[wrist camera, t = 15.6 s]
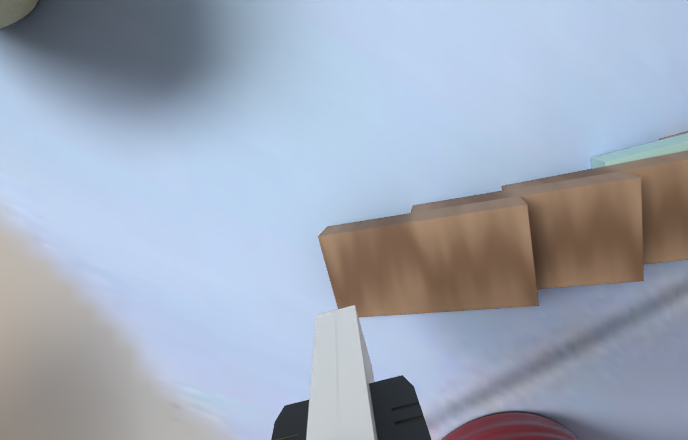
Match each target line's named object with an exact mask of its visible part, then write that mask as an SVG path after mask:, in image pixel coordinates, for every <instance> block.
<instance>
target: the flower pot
mask: <svg viewBox="0 0 688 440" xmlns="http://www.w3.org/2000/svg"><path fill="white" fill-rule="evenodd" d="M38 1H39V0H0V29H1V28H3V27H6V26H9V25H11V24H13V23H15V22H17V21H19V20H20V19H22V18H24V17H25V16H26V15H28V14H29V13H30V12H31V11H32V10H33V9H34V7H35V6H36V4H37V3H38Z"/></svg>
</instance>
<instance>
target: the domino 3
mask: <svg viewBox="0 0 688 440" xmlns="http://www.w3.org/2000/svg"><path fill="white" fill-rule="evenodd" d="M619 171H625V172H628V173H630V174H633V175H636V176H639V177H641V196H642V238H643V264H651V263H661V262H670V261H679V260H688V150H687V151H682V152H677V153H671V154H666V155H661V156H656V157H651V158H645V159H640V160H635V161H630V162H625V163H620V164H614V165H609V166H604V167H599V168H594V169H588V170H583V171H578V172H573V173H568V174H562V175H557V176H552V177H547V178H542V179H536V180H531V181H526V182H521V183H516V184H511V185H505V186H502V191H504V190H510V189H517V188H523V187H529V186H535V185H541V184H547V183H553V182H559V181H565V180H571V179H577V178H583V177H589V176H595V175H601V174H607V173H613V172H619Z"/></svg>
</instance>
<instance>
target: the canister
mask: <svg viewBox="0 0 688 440" xmlns="http://www.w3.org/2000/svg"><path fill="white" fill-rule="evenodd" d="M442 440H579V439H578V438H576V437H575V436H574V435H573V434H572V433H571V432H570V431H569V430H568V429H566V428H565V427H564V426H562V425H560V424H559V423H557V422H555V421H553V420H551V419H548V418H546V417H543V416H539V415H535V414H529V413H513V412H512V413H500V414H494V415H490V416H486V417H482V418H479V419H476V420H474V421H471V422H469V423H467V424H465V425H463V426H461V427H459V428H457V429H456V430H454V431H453V432H451V433H450V434H448V435H447V436H446V437H444V438H443V439H442Z"/></svg>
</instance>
